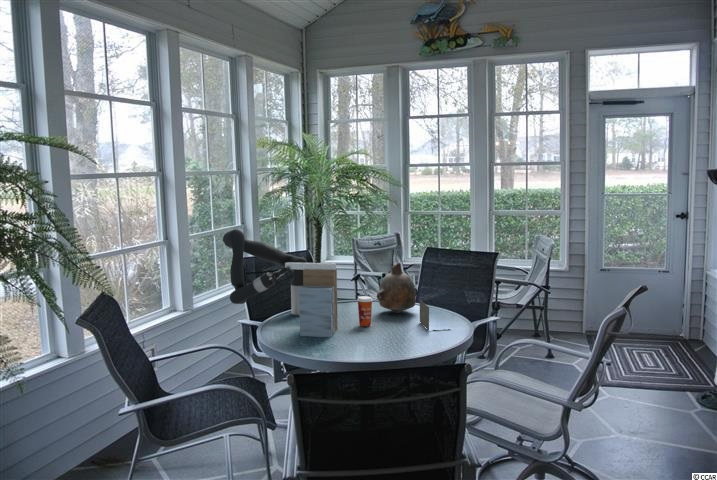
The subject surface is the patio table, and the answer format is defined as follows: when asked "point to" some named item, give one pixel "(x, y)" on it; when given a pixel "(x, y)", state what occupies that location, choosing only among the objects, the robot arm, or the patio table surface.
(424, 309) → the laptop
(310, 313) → the display riser
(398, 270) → the jug
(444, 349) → the patio table surface
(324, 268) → the aluminium bar
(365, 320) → the coffee cup
